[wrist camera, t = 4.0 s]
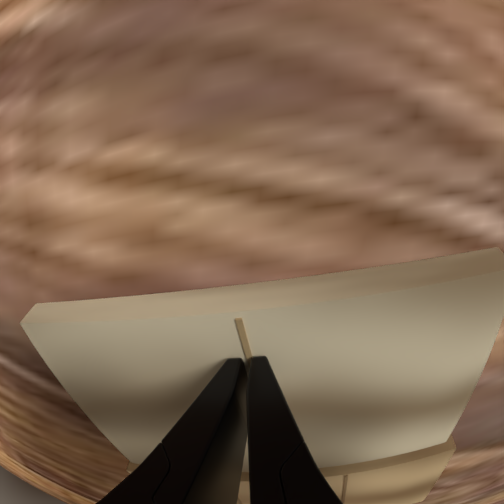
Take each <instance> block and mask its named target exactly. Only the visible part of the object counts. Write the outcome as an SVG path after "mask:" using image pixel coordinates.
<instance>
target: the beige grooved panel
mask: <svg viewBox="0 0 504 504" xmlns="http://www.w3.org/2000/svg"><path fill="white" fill-rule="evenodd" d="M503 316H504V253H503V252H502V251H501V250H500V249H499V248H498V247H495V248H489V249H484V250H478V251H472V252H467V253H461V254H455V255H449V256H443V257H437V258H430V259H424V260H418V261H411V262H405V263H398V264H392V265H385V266H379V267H372V268H365V269H358V270H351V271H344V272H336V273H329V274H322V275H314V276H307V277H299V278H291V279H283V280H275V281H267V282H259V283H250V284H242V285H233V286H224V287H215V288H206V289H197V290H187V291H178V292H168V293H158V294H147V295H137V296H126V297H114V298H103V299H91V300H78V301H65V302H51V303H36V304H35V305H34V306H33V307H32V309H31V310H30V311H29V312H28V313H27V315H26V316H25V317H24V318H23V319H22V321H21V322H20V324H21V326H22V328H23V329H24V331H25V333H26V334H27V336H28V337H29V339H30V340H31V342H32V344H33V345H34V347H35V348H36V350H37V351H38V353H39V354H40V356H41V357H42V358H43V360H44V361H45V363H46V364H47V366H48V367H49V368H50V370H51V371H52V372H53V374H54V375H55V377H56V378H57V379H58V381H59V382H60V383H61V385H62V386H63V387H64V388H65V390H66V391H67V392H68V394H69V395H70V396H71V397H72V399H73V400H74V401H75V402H76V403H77V405H78V406H79V407H80V408H81V409H82V411H83V412H84V413H85V414H86V415H87V416H88V418H89V419H90V420H91V421H92V422H93V423H94V424H95V426H96V427H97V428H98V429H99V430H100V431H101V432H102V433H103V434H104V435H105V436H106V438H107V439H108V440H109V441H110V442H111V443H112V444H113V445H114V446H115V447H116V448H117V449H118V450H119V451H120V452H121V453H122V454H123V455H124V456H125V457H126V458H127V459H128V460H129V461H130V462H131V463H136V464H141V463H142V462H143V461H144V460H145V459H146V458H147V456H148V455H149V454H150V453H151V452H152V451H153V450H154V449H155V447H156V446H157V445H158V444H159V443H162V442H161V440H162V439H163V438H164V437H165V436H166V434H167V433H168V432H169V431H170V430H171V428H172V427H173V426H174V425H175V424H176V422H177V421H178V420H179V419H180V418H181V416H182V415H183V414H184V413H185V411H186V410H187V409H188V408H189V407H190V405H191V404H192V403H193V402H194V400H195V399H196V398H197V397H198V395H199V394H200V393H201V392H202V390H203V389H204V388H205V387H206V385H207V384H208V383H209V382H210V380H211V379H212V378H213V377H214V375H215V374H216V373H217V371H218V370H219V369H220V368H221V366H222V365H223V364H224V363H225V361H226V360H227V359H229V358H242V359H243V361H244V365H245V368H246V372H247V375H248V376H249V370H250V364H251V359H252V357H254V356H266V357H267V358H268V361H269V363H270V365H271V368H272V370H273V372H274V374H275V377H276V379H277V381H278V383H279V385H280V388H281V390H282V392H283V394H284V397H285V399H286V401H287V403H288V405H289V408H290V410H291V412H292V414H293V416H294V419H295V421H296V423H297V425H298V427H299V429H300V432H301V434H302V436H303V438H304V440H305V443H306V444H307V446H308V449H309V451H310V453H311V455H312V457H313V459H314V461H315V462H316V464H317V466H318V468H324V467H333V466H340V465H347V464H354V463H360V462H366V461H371V460H376V459H381V458H386V457H391V456H395V455H400V454H404V453H408V452H412V451H416V450H420V449H424V448H427V447H431V446H434V445H438V444H441V443H444V442H446V441H447V439H448V438H449V436H450V434H451V432H452V431H453V429H454V427H455V425H456V424H457V422H458V420H459V418H460V416H461V415H462V413H463V411H464V409H465V407H466V405H467V403H468V401H469V399H470V397H471V395H472V393H473V391H474V389H475V387H476V384H477V382H478V380H479V378H480V376H481V373H482V371H483V369H484V367H485V364H486V362H487V359H488V357H489V355H490V352H491V350H492V347H493V344H494V342H495V339H496V336H497V334H498V331H499V328H500V325H501V322H502V319H503ZM242 472H249V462H248V435H247V441H246V448H245V454H244V461H243V468H242Z"/></svg>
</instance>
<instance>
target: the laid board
mask: <svg viewBox="0 0 504 504" xmlns="http://www.w3.org/2000/svg"><path fill="white" fill-rule="evenodd" d="M455 450H456V446H455V443H454V440H453V437H452V435H451V434H450V436H449V438H448V439H447V441H446V442H444V443H441V444H438V445H434V446H431V447H427V448H424V449H420V450H416V451H412V452H408V453H404V454H400V455H395V456H391V457H386V458H381V459H376V460H371V461H366V462H360V463H354V464H347V465H340V466H333V467H324V468H319V470H320V471H321V473H322V474H323V476H324V477H325V479H326V480H327V482H328V483H329V485H330V486H331V488H332V489H333V490H334V492H335V493H336V495H337V496H338V497H339V499H340V500H341V501H342V503H343V504H414V503H417V502H421V501H423V500H424V499H425V498H426V496H427V495H428V493H429V492H430V490H431V489H432V487H433V486H434V484H435V483H436V481H437V480H438V478H439V477H440V475H441V473H442V472H443V470H444V468H445V467H446V465H447V464H448V462H449V460H450V458H451V457H452V455H453V453H454V451H455ZM139 465H140V464H136V463H131V462H130V461H129V464H128V467H127V469H126V471H127V472H128V473H129V474H131V473H132V472H133V471H134V470H135V469H136V468H137V467H138V466H139ZM237 504H250V486H249V472H242V474H241V481H240V487H239V494H238V500H237Z"/></svg>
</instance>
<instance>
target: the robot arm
mask: <svg viewBox="0 0 504 504" xmlns="http://www.w3.org/2000/svg"><path fill="white" fill-rule="evenodd" d="M247 435H248V462H249V486H250V504H343V503H342V501H341V500H340V499H339V497H338V496H337V495H336V493H335V492H334V490H333V489H332V488H331V486H330V485H329V483H328V482H327V480H326V479H325V477H324V476H323V474H322V473H321V471H320V470H319V468H318V466H317V464H316V462H315V461H314V459H313V457H312V455H311V453H310V451H309V449H308V446H307V444H306V443H305V440H304V438H303V436H302V434H301V432H300V429H299V427H298V425H297V423H296V421H295V419H294V416H293V414H292V412H291V410H290V408H289V405H288V403H287V401H286V399H285V397H284V394H283V392H282V390H281V388H280V385H279V383H278V381H277V379H276V377H275V374H274V372H273V370H272V368H271V365H270V363H269V361H268V358H267V357H266V356H254V357H252V359H251V364H250V370H249V376H248V375H247V372H246V368H245V365H244V361H243V359H242V358H229V359H227V360H226V361H225V363H224V364H223V365H222V366H221V368H220V369H219V370H218V371H217V373H216V374H215V375H214V377H213V378H212V379H211V380H210V382H209V383H208V384H207V385H206V387H205V388H204V389H203V390H202V392H201V393H200V394H199V395H198V397H197V398H196V399H195V400H194V402H193V403H192V404H191V405H190V407H189V408H188V409H187V410H186V411H185V413H184V414H183V415H182V416H181V418H180V419H179V420H178V421H177V422H176V424H175V425H174V426H173V427H172V428H171V430H170V431H169V432H168V433H167V434H166V436H165V437H164V438H163V439H162V440H161V442H162V443H159V444H158V445H157V446H156V447H155V449H154V450H153V451H152V452H151V453H150V454H149V455H148V456H147V458H146V459H145V460H144V461H143V462H142V463H141V464H140V465H139V466H138V467H137V468H136V469H135V470H134V471H133V472H132V473H131V474H130V475H129V476H128V477H126V478H125V479H124V480H123V481H122V482H121V483H120V484H119V485H117V486H116V487H115V488H114V489H113V490H112V491H111V492H109V493H108V494H107V495H106V496H105V497H104V498H102V499H101V500H100V501H99V502H97V503H96V504H237V500H238V494H239V487H240V481H241V474H242V468H243V461H244V454H245V448H246V441H247Z"/></svg>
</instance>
